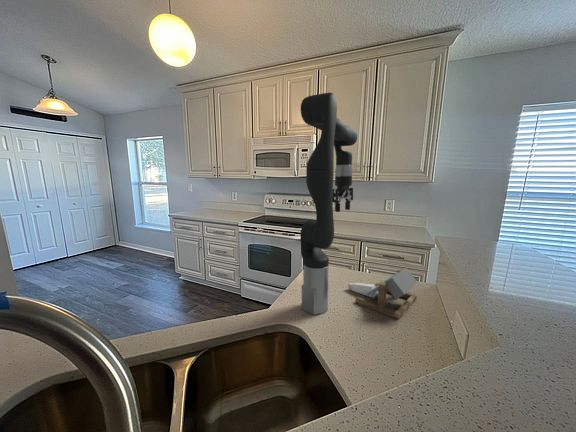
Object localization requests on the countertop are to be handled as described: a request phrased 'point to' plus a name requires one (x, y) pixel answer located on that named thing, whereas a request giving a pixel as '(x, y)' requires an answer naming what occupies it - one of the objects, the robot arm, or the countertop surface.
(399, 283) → the trapdoor
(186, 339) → the countertop surface
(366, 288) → the pepper shaker
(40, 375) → the countertop surface
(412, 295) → the wooden frame stand
